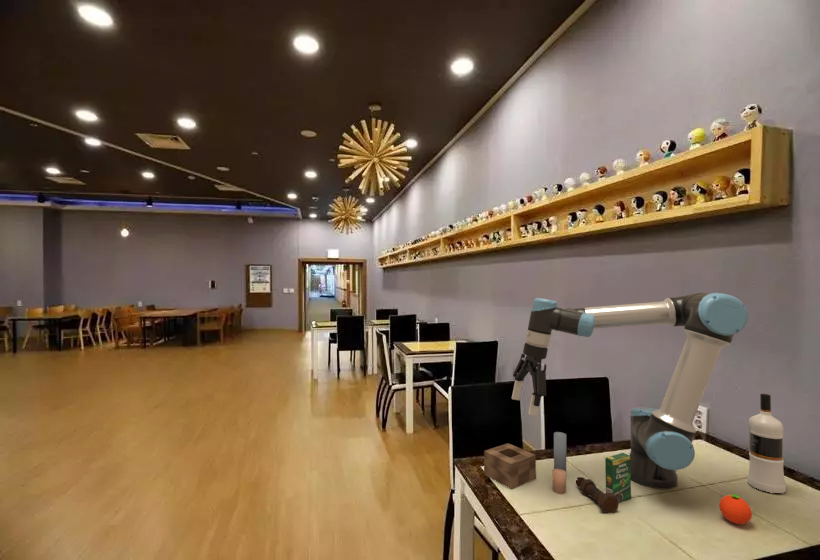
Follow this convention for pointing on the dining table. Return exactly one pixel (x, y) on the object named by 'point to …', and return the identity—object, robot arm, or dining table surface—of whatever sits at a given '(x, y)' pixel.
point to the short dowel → (559, 481)
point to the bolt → (598, 495)
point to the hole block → (510, 465)
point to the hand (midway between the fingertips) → (523, 406)
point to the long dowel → (560, 451)
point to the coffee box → (618, 476)
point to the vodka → (766, 450)
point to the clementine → (735, 509)
